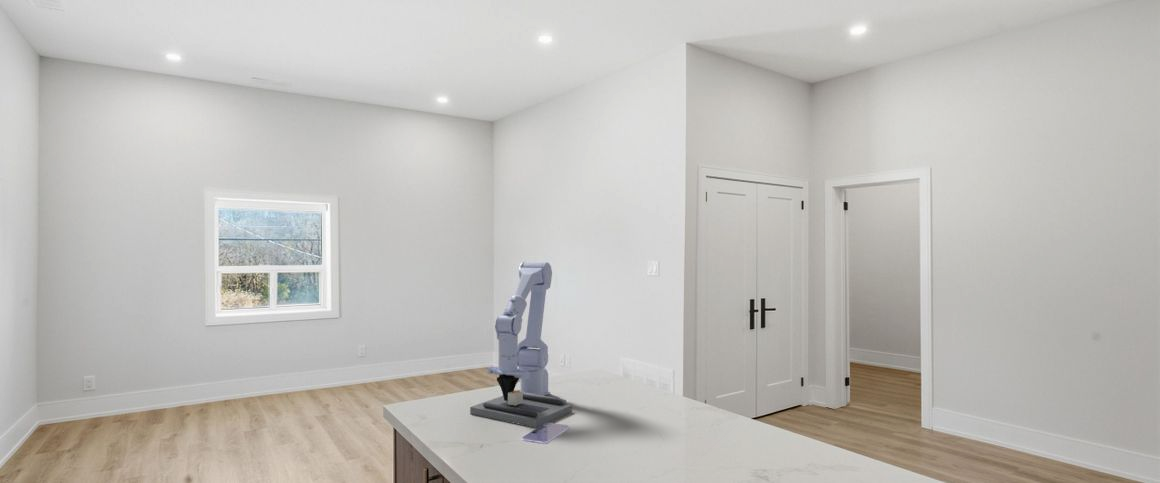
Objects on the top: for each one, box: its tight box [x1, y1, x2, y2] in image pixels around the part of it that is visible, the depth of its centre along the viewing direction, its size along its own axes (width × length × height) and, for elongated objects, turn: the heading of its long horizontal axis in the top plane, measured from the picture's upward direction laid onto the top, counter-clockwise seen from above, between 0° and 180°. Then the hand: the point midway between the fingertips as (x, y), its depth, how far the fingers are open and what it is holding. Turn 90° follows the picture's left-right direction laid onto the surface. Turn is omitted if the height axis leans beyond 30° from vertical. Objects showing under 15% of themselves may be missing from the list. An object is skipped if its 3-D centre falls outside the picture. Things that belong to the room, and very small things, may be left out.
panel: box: [469, 395, 573, 429], centre depth 172 cm, size 18×24×2 cm
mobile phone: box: [521, 422, 570, 445], centre depth 154 cm, size 8×1×15 cm
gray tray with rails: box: [483, 392, 567, 417], centre depth 173 cm, size 17×20×1 cm
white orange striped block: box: [508, 389, 523, 406], centre depth 173 cm, size 4×3×4 cm
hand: (507, 400), depth 175 cm, fingers closed
